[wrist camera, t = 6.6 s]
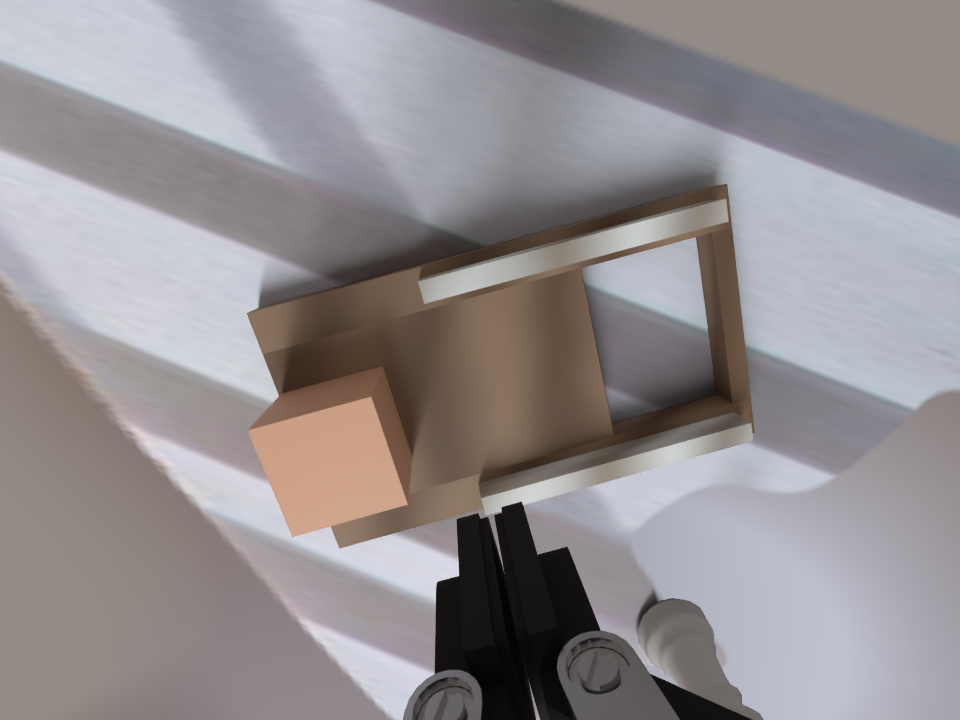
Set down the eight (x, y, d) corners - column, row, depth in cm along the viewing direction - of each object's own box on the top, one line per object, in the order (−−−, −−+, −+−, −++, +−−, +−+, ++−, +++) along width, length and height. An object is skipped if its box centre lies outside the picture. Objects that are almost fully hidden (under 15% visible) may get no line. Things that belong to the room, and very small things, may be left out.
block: (382, 366, 24) (371, 396, 19) (412, 457, 25) (407, 504, 21) (281, 393, 24) (247, 430, 19) (317, 483, 25) (292, 536, 21)
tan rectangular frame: (709, 186, 24) (746, 181, 22) (737, 421, 28) (772, 444, 25) (258, 308, 24) (233, 319, 21) (344, 531, 27) (333, 567, 25)
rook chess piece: (644, 661, 32) (711, 800, 24) (626, 609, 31) (690, 736, 23) (709, 637, 32) (797, 768, 24) (693, 583, 31) (780, 703, 23)
